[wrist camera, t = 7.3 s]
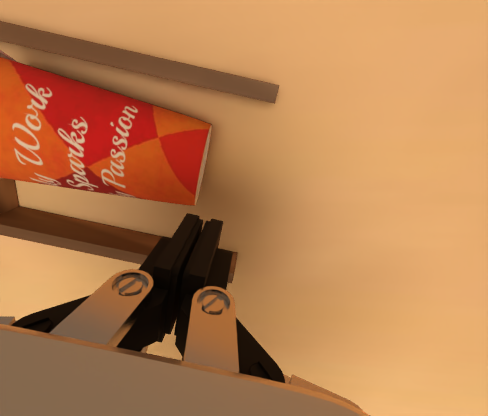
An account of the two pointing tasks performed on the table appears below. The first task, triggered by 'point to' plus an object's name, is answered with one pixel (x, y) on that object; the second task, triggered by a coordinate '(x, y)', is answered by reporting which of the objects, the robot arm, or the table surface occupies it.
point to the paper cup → (96, 138)
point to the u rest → (85, 232)
